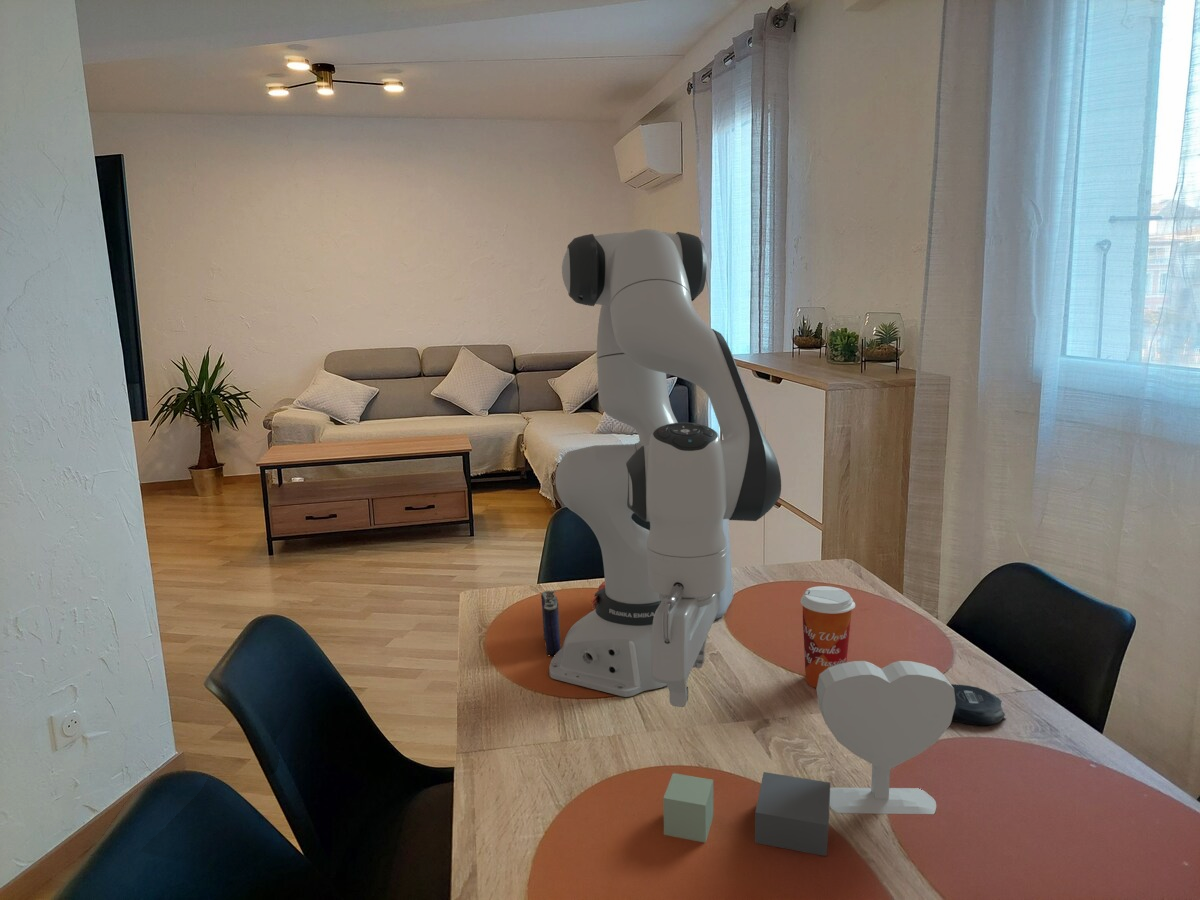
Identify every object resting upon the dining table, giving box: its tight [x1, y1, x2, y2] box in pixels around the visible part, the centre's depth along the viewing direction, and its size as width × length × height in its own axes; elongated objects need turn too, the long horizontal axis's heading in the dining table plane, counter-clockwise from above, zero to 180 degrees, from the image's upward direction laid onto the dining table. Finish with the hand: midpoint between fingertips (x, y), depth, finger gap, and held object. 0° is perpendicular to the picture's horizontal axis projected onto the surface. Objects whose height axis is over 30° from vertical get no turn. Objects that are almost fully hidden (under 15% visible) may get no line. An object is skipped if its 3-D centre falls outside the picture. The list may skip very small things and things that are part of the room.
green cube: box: [662, 772, 714, 843], centre depth 95 cm, size 5×5×5 cm
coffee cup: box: [800, 585, 856, 689], centre depth 126 cm, size 8×8×15 cm
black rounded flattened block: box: [950, 683, 1006, 727], centre depth 118 cm, size 9×6×15 cm
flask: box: [540, 589, 562, 657], centre depth 143 cm, size 9×3×11 cm, turn 8°
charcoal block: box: [754, 771, 831, 857], centre depth 94 cm, size 8×8×4 cm
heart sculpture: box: [815, 660, 956, 815], centre depth 97 cm, size 16×5×18 cm, turn 87°
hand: (688, 683), depth 91 cm, fingers open, 8 cm apart
